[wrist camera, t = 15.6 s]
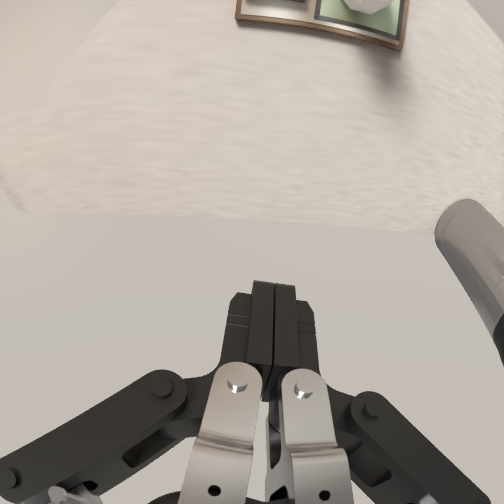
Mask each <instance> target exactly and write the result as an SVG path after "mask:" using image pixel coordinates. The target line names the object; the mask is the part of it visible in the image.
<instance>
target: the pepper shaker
mask: <svg viewBox="0 0 504 504" xmlns="http://www.w3.org/2000/svg"><path fill="white" fill-rule="evenodd" d="M343 1H344V2H345V3H346V4H347V5H348V7H349V8H350V9H351V10H355V11H359V12H363V13H366V14H370V15H371V14H373V13H375V12H377V11H379V10H381V9H383V8H385V7H386V6H388V5H389V4H390V3H392V2H393V1H394V0H343Z"/></svg>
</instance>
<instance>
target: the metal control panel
mask: <svg viewBox="0 0 504 504" xmlns="http://www.w3.org/2000/svg"><path fill="white" fill-rule="evenodd" d="M407 9H408V0H394V1H393V2H392V3H390V4H389V5H388V6H386V7H385V8H383V9H381V10H379V11H377V12H375V13H373V14H371V15H370V14H366V13H363V12H359V11H355V10H351V9H350V8H349V7H348V5H347V4H346V3H345V2H344V1H343V0H237V4H236V12H235V19H236V20H247V21H259V22H269V23H278V24H285V25H292V26H299V27H305V28H311V29H316V30H321V31H326V32H331V33H336V34H340V35H344V36H349V37H353V38H356V39H360V40H364V41H368V42H371V43H375V44H378V45H381V46H384V47H388V48H391V49H394V50H397V51H402V48H403V41H404V34H405V26H406V18H407Z"/></svg>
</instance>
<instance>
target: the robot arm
mask: <svg viewBox="0 0 504 504" xmlns="http://www.w3.org/2000/svg"><path fill="white" fill-rule="evenodd" d="M435 242H436V245H437V247H438V248H439V250H440V251H441V253H442V254H443V256H444V257H445V259H446V260H447V262H448V263H449V265H450V267H451V268H452V270H453V271H454V273H455V275H456V276H457V278H458V279H459V281H460V282H461V284H462V286H463V287H464V289H465V291H466V292H467V294H468V296H469V297H470V299H471V301H472V302H473V304H474V306H475V308H476V309H477V311H478V313H479V315H480V316H481V318H482V320H483V322H484V324H485V325H486V328H487V329H488V331H489V333H490V335H491V337H492V339H493V341H494V343H495V345H496V347H497V349H498V351H499V355H500V357H501V361H502V363H503V366H504V227H503V226H502V225H501V224H500V223H499V222H498V221H497V220H496V219H495V218H494V217H493V216H492V215H491V214H490V213H489V212H488V211H487V210H486V209H485V208H484V207H483V206H482V205H481V204H479V203H478V202H477V201H474V200H471V199H465V200H461V201H458V202H456V203H454V204H453V205H452V206H450V207H449V208H448V209H447V210H446V211H445V212H444V214H443V215H442V216H441V218H440V220H439V222H438V224H437V227H436V231H435ZM314 325H315V321H314V312H313V311H312V309H311V308H310V306H309V304H308V302H307V301H300V300H296V293H295V286H293V285H285V284H278V283H275V284H274V283H270V282H263V281H255V280H254V282H253V287H252V293H251V294H246V293H239V292H238V293H237V294H236V295H235V296H234V297H233V299H232V300H231V301H230V306H229V311H228V316H227V322H226V328H225V334H224V340H223V346H222V352H221V358H220V362H219V364H218V366H217V367H216V368H215V369H214V370H213V371H212V372H210V373H209V374H207V375H204V376H202V377H195V378H186V379H182V378H181V377H180V376H179V375H177V374H176V373H174V372H172V371H169V370H155V371H152V372H150V373H148V374H146V375H144V376H143V377H141V378H140V379H138V380H137V381H135V382H133V383H132V384H130V385H129V386H127V387H125V388H124V389H122V390H120V391H119V392H117V393H115V394H114V395H112V396H110V397H109V398H107V399H105V400H104V401H102V402H100V403H99V404H97V405H95V406H94V407H92V408H90V409H89V410H87V411H85V412H84V413H82V414H80V415H79V416H77V417H75V418H74V419H72V420H70V421H68V422H66V423H65V424H63V425H61V426H59V427H58V428H56V429H54V430H53V431H51V432H49V433H47V434H45V435H43V436H42V437H40V438H38V439H36V440H34V441H33V442H31V443H29V444H27V445H25V446H23V447H21V448H20V449H18V450H16V451H14V452H12V453H10V454H8V455H7V456H4V457H3V458H1V459H0V496H1V497H2V498H4V499H5V500H7V501H9V502H12V503H14V504H103V503H102V501H101V499H100V497H99V496H100V495H102V494H103V493H105V492H107V491H108V490H110V489H111V488H113V487H115V486H116V485H118V484H119V483H121V482H123V481H124V480H126V479H127V478H129V477H130V476H132V475H134V474H135V473H137V472H138V471H140V470H141V469H143V468H144V467H146V466H147V465H149V464H150V463H151V462H153V461H154V460H155V459H157V458H159V457H160V456H161V455H163V454H164V453H166V452H167V451H169V450H170V449H171V448H173V447H174V446H175V445H177V444H178V443H179V442H181V441H182V440H184V439H185V438H187V437H195V436H197V437H196V439H195V442H194V445H193V448H192V452H191V456H190V459H189V463H188V467H187V471H186V474H185V478H184V482H183V486H182V489H181V491H178V492H173V493H169V494H166V495H163V496H161V497H158V498H157V499H155V500H153V501H151V502H150V503H148V504H354V500H353V493H352V486H351V480H352V481H353V482H354V483H355V484H356V485H357V486H358V487H359V488H360V489H361V490H362V491H363V492H364V493H365V494H366V495H367V496H368V497H369V498H370V499H371V500H372V501H373V502H374V503H375V504H491V502H490V499H489V498H488V496H486V494H484V493H483V492H482V491H481V490H480V489H479V488H478V487H477V486H476V485H475V484H474V483H473V482H472V481H471V480H470V479H469V478H468V477H466V476H465V475H464V474H463V473H462V472H461V471H460V470H459V469H458V468H457V467H456V466H455V465H454V464H453V463H452V462H451V461H450V460H449V459H448V458H446V456H444V455H443V454H442V453H441V452H440V451H439V450H438V449H437V448H436V447H435V446H434V445H433V444H432V443H431V442H430V441H429V440H428V439H427V438H426V437H425V436H424V435H423V434H422V433H420V431H418V430H417V429H416V428H415V427H414V426H413V425H412V424H411V423H410V422H409V421H408V420H407V419H406V418H405V417H404V416H403V415H402V414H401V413H400V412H399V411H398V410H397V409H396V408H395V407H394V406H393V405H392V404H390V402H389V401H388V400H387V399H386V398H384V397H383V396H382V395H380V394H378V393H376V392H371V391H366V392H362V393H360V394H358V395H357V396H356V397H354V396H351V395H348V394H345V393H342V392H339V391H336V390H334V389H333V388H331V387H330V386H328V385H327V384H326V383H325V381H324V380H323V378H322V377H321V375H320V371H319V363H318V351H317V341H316V336H315V334H316V331H315V326H314ZM261 396H262V401H263V402H269V413H268V416H267V418H266V447H267V475H266V479H265V502H261V501H258V500H255V499H251V498H248V497H246V494H247V489H248V483H249V477H250V471H251V465H252V459H253V441H254V435H255V428H256V422H257V416H258V409H259V403H260V399H261Z"/></svg>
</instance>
